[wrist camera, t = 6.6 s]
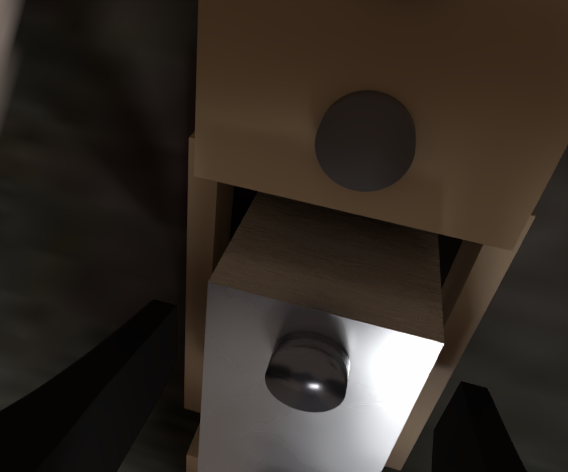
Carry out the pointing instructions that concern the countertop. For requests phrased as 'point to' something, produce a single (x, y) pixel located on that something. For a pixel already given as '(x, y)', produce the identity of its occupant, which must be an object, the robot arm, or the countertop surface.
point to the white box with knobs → (316, 339)
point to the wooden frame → (378, 137)
